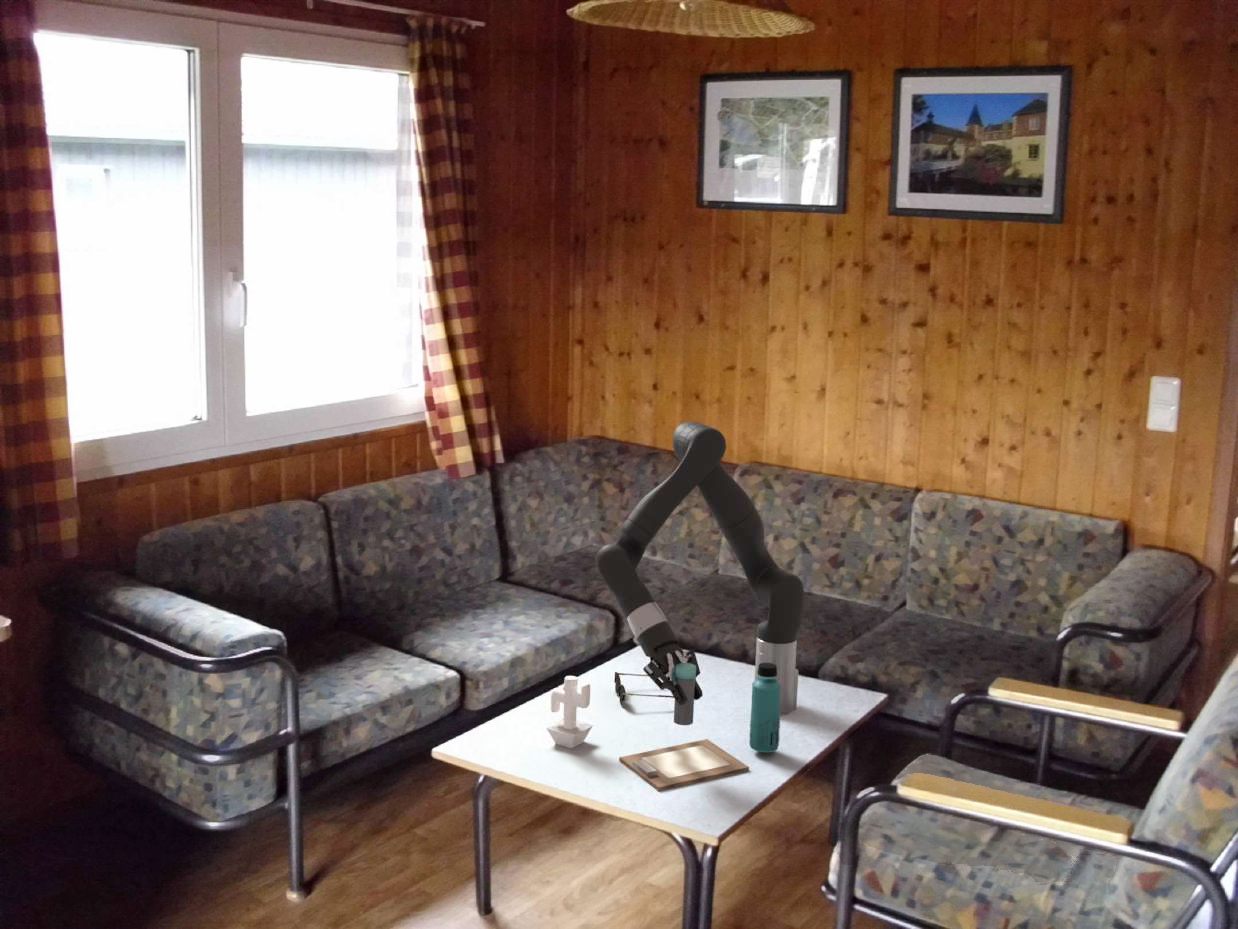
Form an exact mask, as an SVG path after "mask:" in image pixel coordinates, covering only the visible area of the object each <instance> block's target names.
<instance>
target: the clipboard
mask: <svg viewBox="0 0 1238 929" xmlns="http://www.w3.org/2000/svg"><path fill="white" fill-rule="evenodd" d="M618 761H619V762H620V763H621V764H622V765H624V766H625V767H627V768H628V769H629V770H630V771H632V772H633V773H634V774H636V775H637V776H638V777H639V778H641V779H642V780H643V781H645V782H646V783H647V784H648V785H650V786H651V787H653V788H654V789H655V790H657V791H658V792H660V791H664V790H669V789H673V788H678V787H682V786H683V787H684V786H687V785H691V784H696V783H700V782H705V781H710V780H713V779H718V778H722V777H726V776H732V775H735V774H739V773H744V772H749V771H750V766H749V765H747V764H746V763H744V762H742V761H741V760H739V759H738V758H737V757H736V756H733V755H732V754H730V753H728V752H727V751H726V750H725V749H723V748H721V747H720V746H718V745H717V744H715V743H714V742H712V741H711V740H709V739H708V738H705V739H701V740H696V741H692V742H687V743H686V742H685V743H681V744H676V745H671V746H667V747H662V748H658V749H652V750H649V751H642V752H639V753H634V754H633V753H632V754H629V755H623V756H620V757H618Z"/></svg>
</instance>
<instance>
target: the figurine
mask: <svg viewBox="0 0 1238 929" xmlns="http://www.w3.org/2000/svg"><path fill="white" fill-rule="evenodd" d="M563 680H564V683H563V684H564V685H563V687H562V688H559V687H557V688H556V687H555V688H553V689H552V691H551V694H550V711H551V713H558V712H559V711H560V708H561V707H560V706H561V704H562V703H563V719H561V720H558V721H557V722H555V723H554V724H552V725H549V726H548V727H546V730H547V731H548V733H549V735H550V737H551V738H552V740H553V742H554V743H555V745H559V746H563V747H566V748H569V749H573V748H576V747H577V746H579V745H580V744H582V743H584V742H585V740H586V738H587V736H588V735H589V733H590V731H591V729H593V726H594V725H592V724H589V723H586V722H582V721H578V720H577V709H578V708H581V709H586V708H588V707H589V706H590V702H591V685H590V684H591V683H589V682H585V683H582V685H581V687H580V689H581V690H580V693H578V683H579V682H578V681H579V678H578V677H577V676H576V675H575V676H574V675H566V676H565V677H564V679H563Z"/></svg>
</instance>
